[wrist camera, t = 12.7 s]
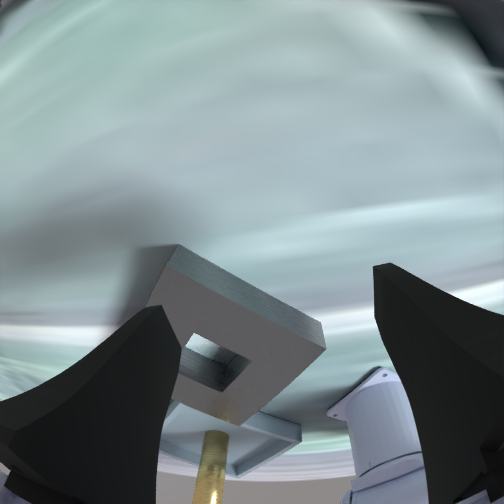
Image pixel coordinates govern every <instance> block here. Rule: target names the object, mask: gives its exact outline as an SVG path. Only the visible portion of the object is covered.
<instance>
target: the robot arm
mask: <svg viewBox="0 0 504 504" xmlns="http://www.w3.org/2000/svg"><path fill="white" fill-rule="evenodd" d="M373 279H374V317H375V320H376V323H377V326H378V329H379V332H380V335H381V338H382V341H383V343H384V346H385V348H386V350H387V352H388V354H389V356H390V359H391V361H392V363H393V365H394V367H395V369H396V372H397V373H394V372H392V371H390V370H388V369H386V368H383V367H382V368H379V369H377V370H376V371H375V372H374V373H373V374H372V375H371V376H369V377H368V378H367V379H366V380H365V381H364V382H362V383H361V384H360V385H359V386H358V387H357V388H355V389H354V390H353V391H352V392H351V393H349V394H348V395H347V396H346V397H344V398H343V399H342V400H341V401H339V402H338V403H337V404H336V405H334V406H333V407H332V408H330V409H329V410H328V411H327V416H329V417H332V418H335V419H338V420H342V421H345V422H347V426H348V431H349V437H350V443H351V448H352V454H353V460H354V466H355V472H356V479H354V480H352V481H351V484H352V490H349V491H347V492H346V493H345V495H344V497H343V498H342V500H341V503H340V504H504V315H501V314H498V313H495V312H491V311H488V310H486V309H483V308H481V307H478V306H475V305H473V304H470V303H468V302H465V301H463V300H461V299H459V298H457V297H454V296H452V295H450V294H448V293H446V292H444V291H442V290H440V289H438V288H436V287H434V286H433V285H431V284H429V283H427V282H425V281H423V280H422V279H420V278H418V277H416V276H415V275H413V274H411V273H409V272H407V271H406V270H404V269H402V268H400V267H398V266H396V265H394V264H392V263H386V264H381V265H377V266H373ZM181 351H182V347H181V345H180V343H179V341H178V339H177V337H176V335H175V333H174V331H173V329H172V326H171V324H170V322H169V320H168V318H167V316H166V313H165V311H164V309H163V307H162V305H156V306H149V307H146V308H144V309H143V310H141V311H140V312H138V313H137V314H136V315H135V316H133V317H132V318H131V319H130V320H128V321H127V322H126V323H125V324H124V325H122V326H121V327H120V328H119V329H118V330H117V331H115V332H114V333H113V334H112V335H111V336H110V337H108V338H107V339H106V340H105V341H104V342H102V343H101V344H100V345H99V346H97V347H96V348H95V349H94V350H92V351H91V352H90V353H89V354H87V355H86V356H85V357H83V358H82V359H81V360H79V361H78V362H77V363H75V364H74V365H72V366H71V367H69V368H68V369H66V370H65V371H63V372H62V373H60V374H59V375H57V376H55V377H53V378H51V379H50V380H48V381H46V382H44V383H43V384H41V385H39V386H37V387H35V388H33V389H31V390H29V391H27V392H24V393H22V394H19V395H17V396H15V397H12V398H9V399H6V400H3V401H0V462H1V463H3V465H5V466H6V467H7V468H8V469H9V470H11V471H10V473H9V475H6V474H4V473H3V472H2V471H0V504H156V475H157V464H158V454H159V446H160V439H161V433H162V429H163V424H164V420H165V417H166V413H167V410H168V407H169V403H170V400H171V397H172V393H173V390H174V386H175V383H176V379H177V376H178V372H179V366H180V359H181Z"/></svg>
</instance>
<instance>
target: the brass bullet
mask: <svg viewBox="0 0 504 504" xmlns="http://www.w3.org/2000/svg"><path fill="white" fill-rule="evenodd" d="M228 446H229V435H228V434H227V433H225V432H223V431H219V430H209V431H206V432H205V435H204V440H203V446H202V451H201V457H200V462H199V468H198V474H197V479H196V485H195V491H194V496H193V502H192V504H222V497H223V488H224V480H225V471H226V463H227V454H228Z"/></svg>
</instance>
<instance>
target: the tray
mask: <svg viewBox="0 0 504 504" xmlns="http://www.w3.org/2000/svg"><path fill="white" fill-rule="evenodd" d="M209 430H219V431H223V432H225V433H227V434H228V435H229V446H228V454H227V463H226V471H225V475H229V476H232V477H236V478H240V477H242V476H244V475H245V474H247V473H249V472H251V471H253V470H255V469H257V468H259V467H260V466H262V465H264V464H266V463H268V462H269V461H271V460H273V459H274V458H276V457H278V456H280V455H281V454H283V453H285V452H286V451H288V450H289V449H291V448H293V447H294V446H296V445H297V444H299V443H301V442H302V436H301V425H298V424H295V423H292V422H289V421H286V420H282V419H280V418H277V417H274V416H271V415H268V414H265V413H262V412H260V411H258V412H256V413H255V414H254V415H253V416H252V417H250V418H249V419H248V420H247V421H245V422H244V423H243V424H242V425H240V426H237V425H234V424H231V423H228V422H226V421H223V420H220V419H218V418H215V417H213V416H210V415H208V414H205V413H203V412H200V411H198V410H195V409H193V408H191V407H188V406H186V405H184V404H182V403H179V402H177V401H175V400H173V401H172V402H171V403H170V405H169V407H168V410H167V413H166V417H165V420H164V424H163V429H162V433H161V439H160V446H159V452H161V453H163V454H166V455H168V456H171V457H173V458H176V459H179V460H182V461H184V462H187V463H190V464H193V465H196V466H199V462H200V457H201V451H202V446H203V440H204V435H205V432H206V431H209Z"/></svg>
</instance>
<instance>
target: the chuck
mask: <svg viewBox="0 0 504 504" xmlns="http://www.w3.org/2000/svg"><path fill="white" fill-rule="evenodd" d="M156 305H162V307H163V309H164V311H165V313H166V316H167V318H168V320H169V322H170V324H171V326H172V329H173V331H174V333H175V335H176V337H177V339H178V341H179V343H180V345H181V347H182V351H181V359H180V366H179V372H178V376H177V379H176V383H175V386H174V390H173V393H172V397H171V399H173V400H175V401H177V402H179V403H182V404H184V405H186V406H188V407H191V408H193V409H195V410H198V411H200V412H203V413H205V414H208V415H210V416H213V417H215V418H218V419H220V420H223V421H226V422H228V423H231V424H234V425H237V426H240V425H242V424H243V423H244V422H245V421H247V420H248V419H249V418H250V417H252V416H253V415H254V414H255V413H256V412H258V411H259V410H260V409H261V408H262V407H264V406H265V405H266V404H267V403H268V402H269V401H271V400H272V399H273V398H274V397H275V396H276V395H278V394H279V393H280V392H281V391H282V390H283V389H284V388H285V387H287V386H288V385H289V384H290V383H291V382H292V381H293V380H294V379H295V378H296V377H298V376H299V375H300V374H301V373H302V372H303V371H304V370H305V369H306V368H307V367H308V366H309V365H310V364H311V363H312V362H314V361H315V360H316V359H317V358H318V357H319V356H320V355H321V354H322V353H323V352H324V351H325V350H326V344H325V339H324V335H323V330H322V325H321V322H319V321H317V320H315V319H313V318H311V317H309V316H307V315H305V314H304V313H302V312H300V311H298V310H296V309H294V308H292V307H291V306H289V305H287V304H285V303H283V302H281V301H279V300H278V299H276V298H274V297H272V296H270V295H268V294H267V293H265V292H263V291H261V290H259V289H257V288H256V287H254V286H252V285H250V284H248V283H247V282H245V281H243V280H241V279H239V278H238V277H236V276H234V275H232V274H230V273H229V272H227V271H225V270H223V269H221V268H220V267H218V266H216V265H214V264H213V263H211V262H209V261H207V260H206V259H204V258H202V257H200V256H199V255H197V254H195V253H193V252H192V251H190V250H188V249H186V248H185V247H183V246H181V245H178V247H177V248H176V250H175V252H174V253H173V255H172V256H171V258H170V259H169V261H168V263H167V264H166V266H165V268H164V270H163V272H162V274H161V276H160V278H159V280H158V282H157V284H156V286H155V288H154V290H153V292H152V294H151V296H150V298H149V300H148V302H147V304H146V306H145V308H146V307H149V306H156ZM193 333H196V334H198V335H200V336H202V337H204V338H206V339H208V340H210V341H212V342H214V343H216V344H218V345H220V346H222V347H224V348H226V349H228V350H230V351H232V352H235V353H237V355H236V356H235V357H234V358H233V360H232V361H231V362H230V363H229V364H228V365H227V367H225V366H223V365H221V364H219V363H217V362H215V361H212V360H210V359H208V358H206V357H204V356H202V355H200V354H198V353H196V352H194V351H192V350H190V349H188V348H186V347H185V345H186V344H187V342H188V341H189V339H190V338H191V336H192V335H193Z"/></svg>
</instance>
